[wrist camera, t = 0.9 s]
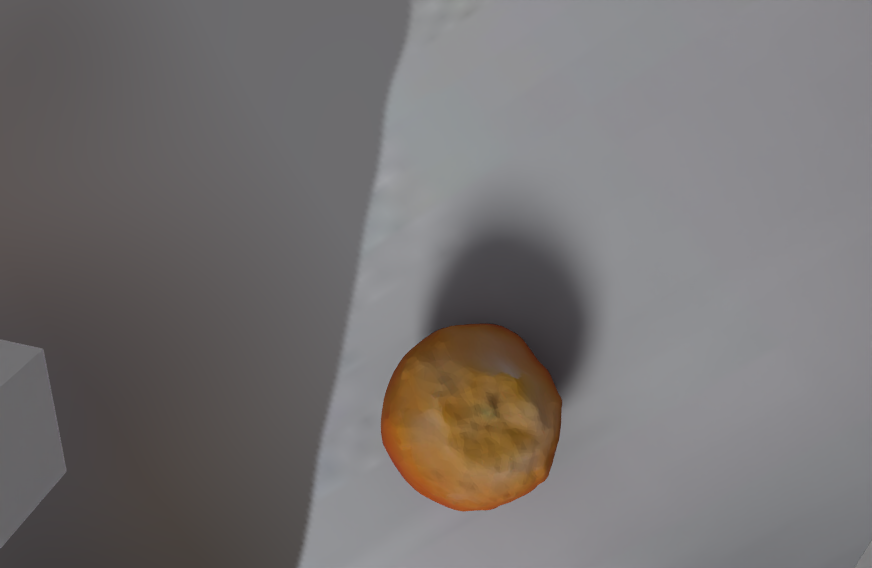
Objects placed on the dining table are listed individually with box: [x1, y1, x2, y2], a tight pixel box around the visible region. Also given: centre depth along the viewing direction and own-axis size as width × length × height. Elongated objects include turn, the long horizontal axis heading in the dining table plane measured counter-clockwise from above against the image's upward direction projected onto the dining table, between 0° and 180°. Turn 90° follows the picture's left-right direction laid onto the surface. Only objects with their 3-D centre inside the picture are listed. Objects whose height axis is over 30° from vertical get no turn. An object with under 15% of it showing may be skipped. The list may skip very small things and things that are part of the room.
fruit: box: [381, 324, 562, 511], centre depth 34 cm, size 8×8×8 cm
